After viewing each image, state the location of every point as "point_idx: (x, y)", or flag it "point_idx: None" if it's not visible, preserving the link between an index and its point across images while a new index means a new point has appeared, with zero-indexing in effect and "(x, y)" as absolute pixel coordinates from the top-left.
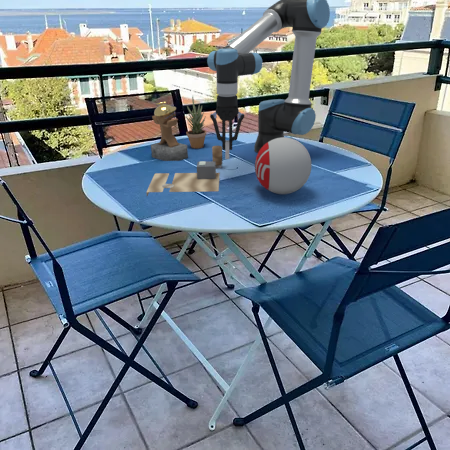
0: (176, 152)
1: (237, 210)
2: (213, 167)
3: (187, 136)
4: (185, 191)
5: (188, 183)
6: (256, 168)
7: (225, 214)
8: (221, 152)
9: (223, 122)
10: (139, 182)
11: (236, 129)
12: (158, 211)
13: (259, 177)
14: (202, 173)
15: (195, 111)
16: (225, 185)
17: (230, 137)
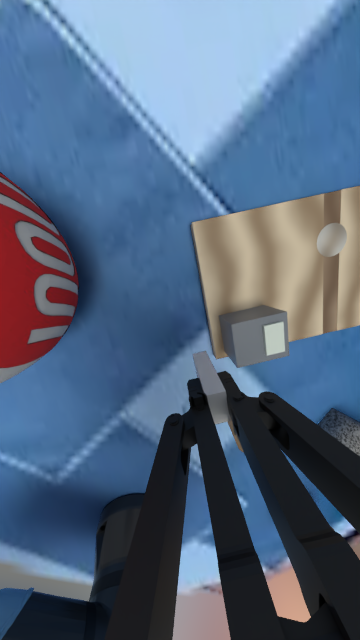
0: (342, 438)
1: (112, 111)
2: (234, 322)
3: (331, 527)
4: (280, 205)
5: (281, 268)
6: (35, 214)
7: (138, 69)
8: (232, 424)
9: (338, 559)
10: None
11: (169, 489)
12: (329, 66)
13: (38, 206)
14: (258, 311)
15: None
16: (187, 298)
17: (204, 419)
